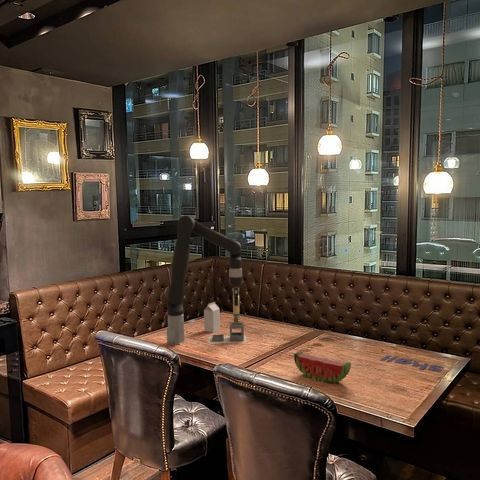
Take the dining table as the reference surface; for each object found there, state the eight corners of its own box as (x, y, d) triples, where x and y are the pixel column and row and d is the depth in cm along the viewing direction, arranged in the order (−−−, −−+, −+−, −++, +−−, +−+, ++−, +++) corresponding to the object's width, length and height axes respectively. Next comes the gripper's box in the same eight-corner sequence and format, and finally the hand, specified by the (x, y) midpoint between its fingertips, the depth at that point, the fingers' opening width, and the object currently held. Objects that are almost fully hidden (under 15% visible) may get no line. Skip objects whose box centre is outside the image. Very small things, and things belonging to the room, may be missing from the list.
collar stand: (212, 341, 251) (211, 326, 251) (212, 337, 259) (212, 322, 259) (243, 341, 252) (243, 325, 251) (243, 336, 260) (243, 322, 259)
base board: (208, 346, 249) (208, 343, 248) (209, 338, 262) (209, 336, 262) (246, 345, 249) (246, 342, 249) (245, 337, 263) (245, 335, 263)
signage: (444, 366, 212) (438, 372, 204) (444, 367, 212) (438, 374, 204) (387, 354, 230) (380, 359, 222) (387, 355, 230) (380, 361, 222)
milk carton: (220, 331, 276) (219, 302, 274) (213, 334, 270) (212, 304, 268) (211, 330, 280) (210, 301, 278) (204, 333, 274) (203, 303, 272)
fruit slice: (293, 374, 206) (293, 354, 205) (300, 370, 211) (300, 350, 210) (345, 388, 190) (345, 366, 189) (351, 383, 194) (351, 361, 194)
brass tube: (236, 323, 252) (236, 295, 251) (231, 321, 255) (231, 295, 254) (241, 321, 255) (240, 294, 254) (236, 320, 258) (236, 293, 256)
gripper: (242, 277, 246) (243, 307, 247) (241, 273, 260) (242, 302, 261) (229, 277, 245) (229, 307, 247) (229, 273, 260) (229, 302, 261)
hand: (236, 304), depth 254 cm, fingers closed on brass tube, 3 cm apart
